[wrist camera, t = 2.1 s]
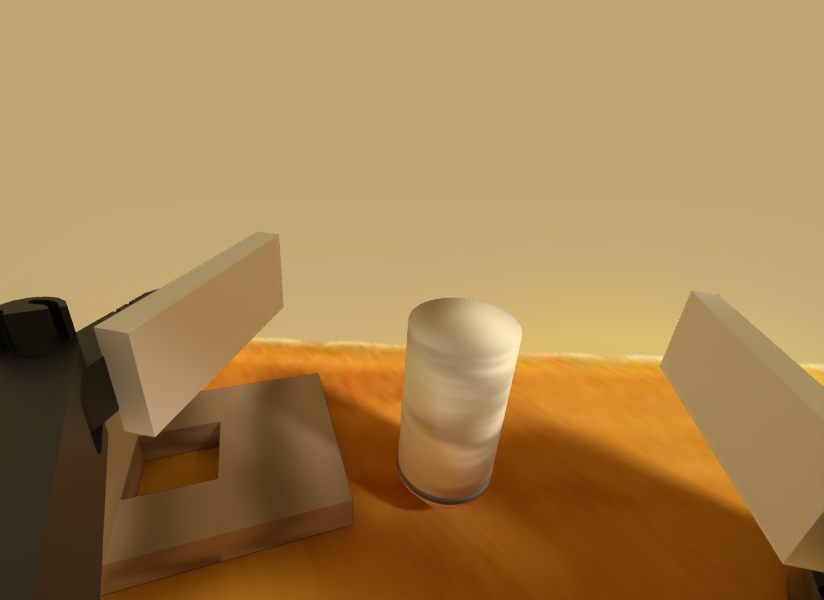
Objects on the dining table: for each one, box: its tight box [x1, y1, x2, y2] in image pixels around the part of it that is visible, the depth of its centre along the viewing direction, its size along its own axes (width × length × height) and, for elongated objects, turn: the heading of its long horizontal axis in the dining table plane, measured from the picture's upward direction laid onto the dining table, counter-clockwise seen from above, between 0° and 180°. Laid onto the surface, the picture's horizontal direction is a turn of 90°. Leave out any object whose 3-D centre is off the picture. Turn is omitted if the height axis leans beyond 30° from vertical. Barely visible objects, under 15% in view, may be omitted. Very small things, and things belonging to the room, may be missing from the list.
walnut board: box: [100, 373, 353, 596], centre depth 30 cm, size 22×14×2 cm, turn 110°
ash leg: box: [397, 298, 522, 510], centre depth 29 cm, size 7×7×14 cm
